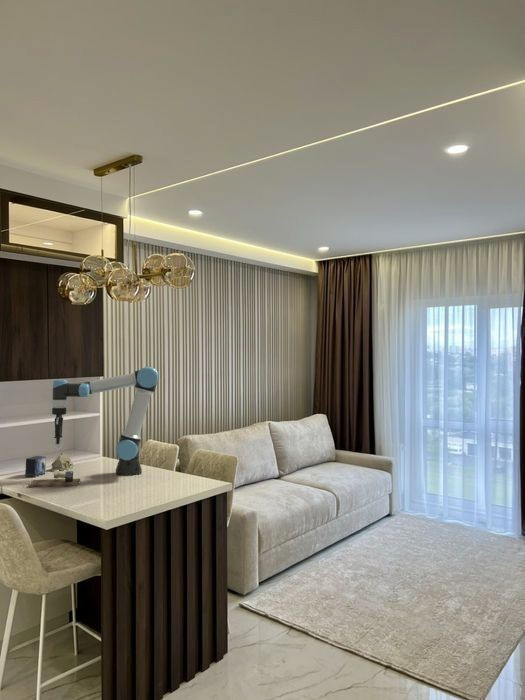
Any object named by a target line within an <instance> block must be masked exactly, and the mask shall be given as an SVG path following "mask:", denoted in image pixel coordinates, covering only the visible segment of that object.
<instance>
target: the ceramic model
mask: <svg viewBox="0 0 525 700" xmlns="http://www.w3.org/2000/svg"><path fill="white" fill-rule="evenodd" d="M71 461H72V460H71V458H70V456H69V455H68V454H67V453H63V452H62V453H60V454H59V455H58V457H56V458H55V459H54V461H53V462H52V463H51V468H50V469H49V471H50V472H54V470H59V472H65V471H64V470H68V471H70V470H72V469H73V468H74V463H71ZM69 469H70V470H69Z"/></svg>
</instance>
